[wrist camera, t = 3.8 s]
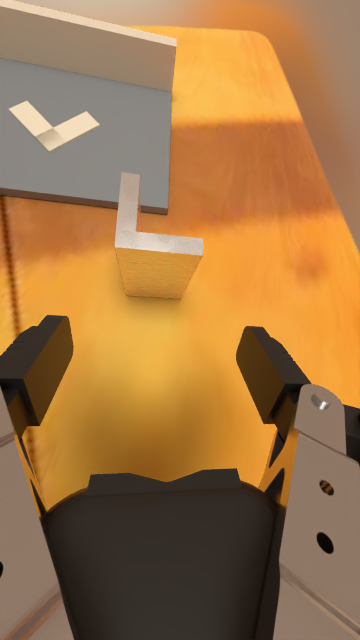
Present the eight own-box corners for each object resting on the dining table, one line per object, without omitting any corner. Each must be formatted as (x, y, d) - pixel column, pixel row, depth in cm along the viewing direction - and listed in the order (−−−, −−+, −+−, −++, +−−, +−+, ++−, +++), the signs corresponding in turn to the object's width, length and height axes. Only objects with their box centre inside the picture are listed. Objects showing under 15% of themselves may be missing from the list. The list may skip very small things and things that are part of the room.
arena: (-83, 184, 21) (-148, 130, 17) (-38, 52, 25) (-81, -22, 21) (167, 214, 25) (172, 177, 20) (171, 94, 29) (176, 38, 24)
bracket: (126, 295, 22) (114, 247, 13) (130, 245, 23) (121, 172, 15) (180, 299, 23) (203, 255, 14) (181, 250, 24) (202, 183, 15)
